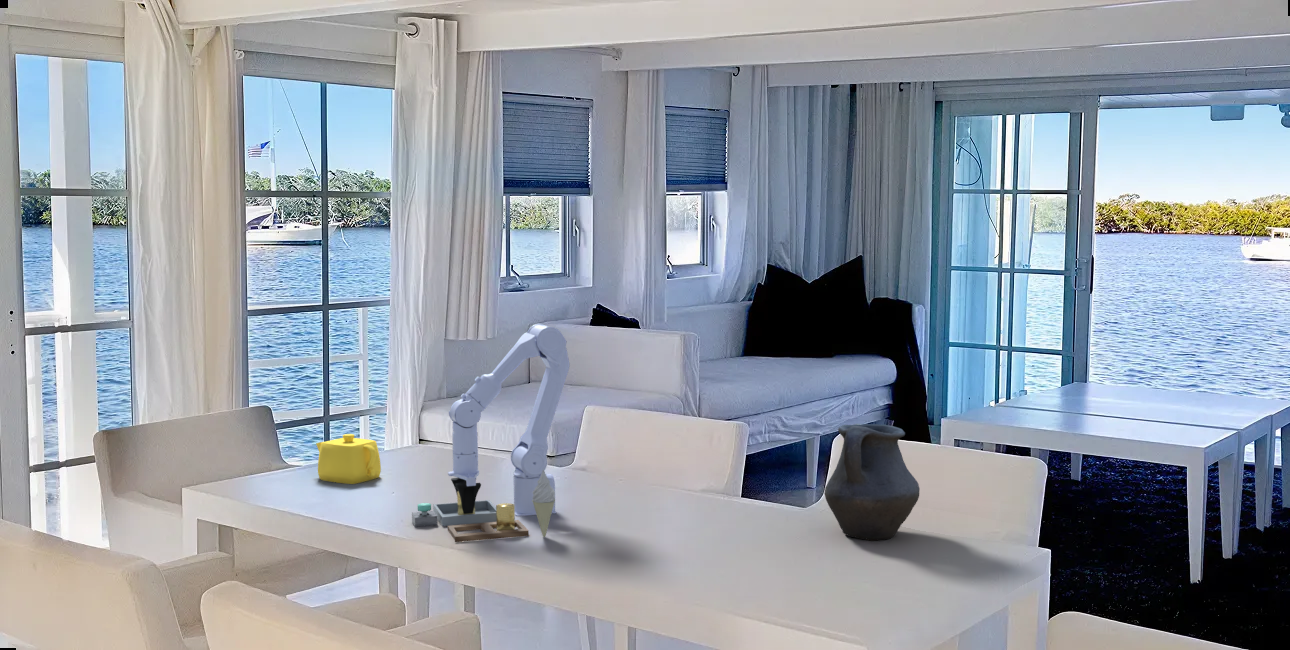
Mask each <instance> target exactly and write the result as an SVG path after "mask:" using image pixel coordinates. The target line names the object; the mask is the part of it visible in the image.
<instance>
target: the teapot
mask: <svg viewBox="0 0 1290 650" xmlns="http://www.w3.org/2000/svg"><path fill="white" fill-rule="evenodd" d="M315 445H316V447H317V450H318V452H319V453H318V460H317V461H318V463H317V474H318V477H319V480H321V481H324V482H330V483H335V482H336V483H338V484H345V485H356V484H361V483H364V482H369V481H372V480H376V479H379V478H380V476H381V472H382V471H381V470H382V467H381V458H380V457H381V456H380V452H379V446H378V444H377V441H376V440H373V439H365V438H359V437H355V434H354V433H345V434H342V437H341V438H335V439H331V440H327V441H320V442H316V443H315ZM336 483H335V484H336Z"/></svg>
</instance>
